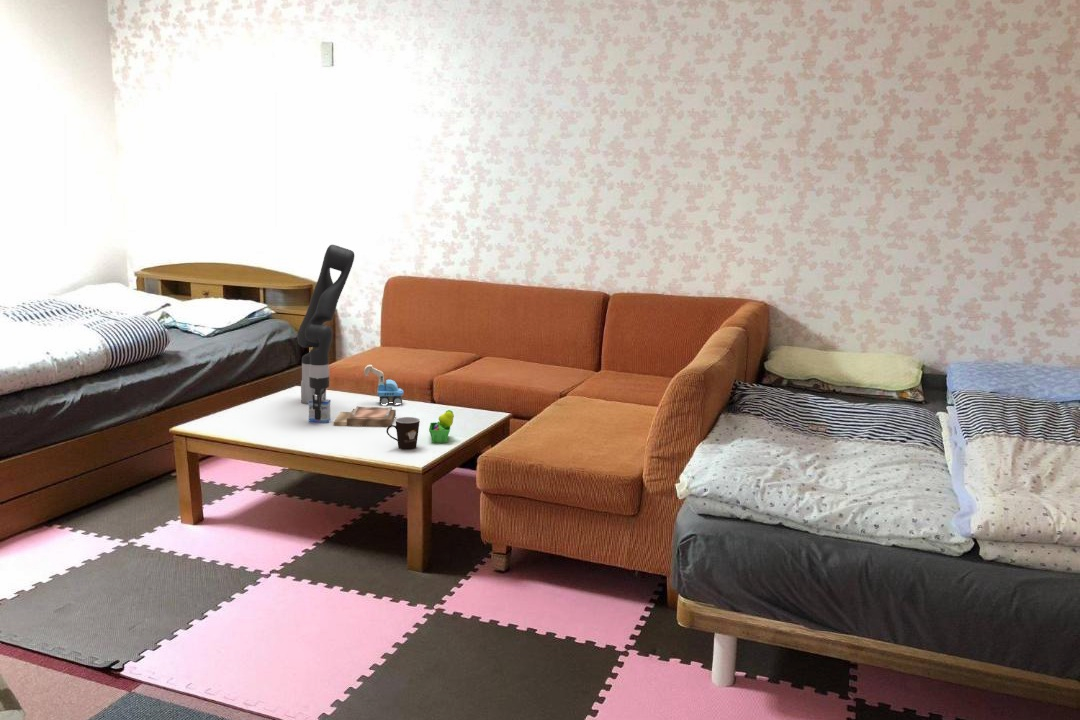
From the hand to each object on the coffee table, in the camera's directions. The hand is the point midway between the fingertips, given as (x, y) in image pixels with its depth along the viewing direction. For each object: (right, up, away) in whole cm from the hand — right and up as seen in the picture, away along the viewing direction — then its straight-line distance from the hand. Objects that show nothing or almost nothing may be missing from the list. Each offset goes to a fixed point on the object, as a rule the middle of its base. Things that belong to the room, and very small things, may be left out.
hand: (319, 416), depth 332 cm
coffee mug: (+38, -9, -30) cm, 49 cm away
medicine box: (0, -2, 0) cm, 2 cm away
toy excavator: (+19, +3, +33) cm, 38 cm away
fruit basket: (+50, -8, -18) cm, 54 cm away
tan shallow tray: (+17, -2, +3) cm, 18 cm away
